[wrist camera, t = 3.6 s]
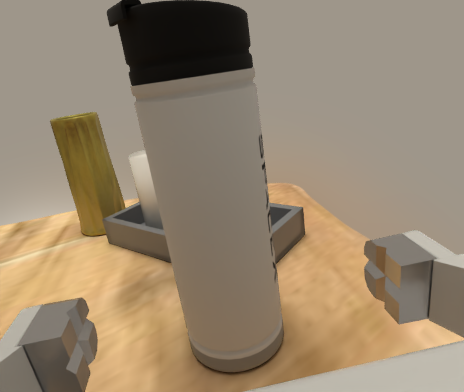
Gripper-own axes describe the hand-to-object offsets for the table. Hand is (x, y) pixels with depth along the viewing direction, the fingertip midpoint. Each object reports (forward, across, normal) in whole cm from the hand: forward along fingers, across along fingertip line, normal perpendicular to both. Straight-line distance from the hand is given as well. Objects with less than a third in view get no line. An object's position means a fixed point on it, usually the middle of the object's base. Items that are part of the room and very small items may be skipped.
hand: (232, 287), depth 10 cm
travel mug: (+10, 0, +11) cm, 15 cm away
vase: (+35, +13, +11) cm, 39 cm away
